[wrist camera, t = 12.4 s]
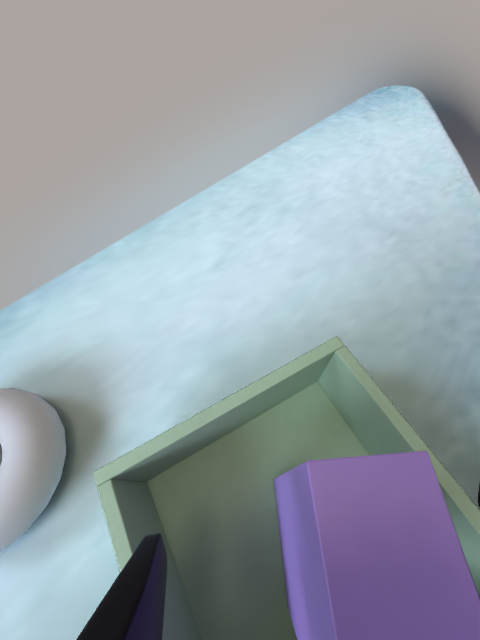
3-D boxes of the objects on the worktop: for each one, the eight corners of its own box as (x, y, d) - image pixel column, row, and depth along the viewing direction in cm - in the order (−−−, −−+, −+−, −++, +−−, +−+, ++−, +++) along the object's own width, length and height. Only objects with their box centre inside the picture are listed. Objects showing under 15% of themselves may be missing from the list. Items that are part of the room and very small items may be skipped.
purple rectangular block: (344, 603, 16) (587, 898, 4) (287, 608, 16) (381, 917, 4) (321, 474, 19) (427, 450, 7) (273, 478, 19) (306, 460, 7)
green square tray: (480, 595, 16) (590, 646, 11) (245, 806, 13) (239, 1019, 8) (317, 371, 22) (337, 335, 17) (135, 477, 19) (92, 472, 14)
